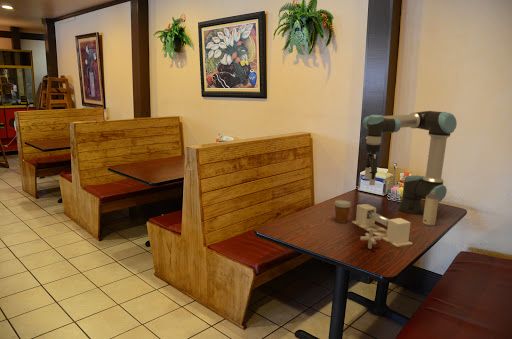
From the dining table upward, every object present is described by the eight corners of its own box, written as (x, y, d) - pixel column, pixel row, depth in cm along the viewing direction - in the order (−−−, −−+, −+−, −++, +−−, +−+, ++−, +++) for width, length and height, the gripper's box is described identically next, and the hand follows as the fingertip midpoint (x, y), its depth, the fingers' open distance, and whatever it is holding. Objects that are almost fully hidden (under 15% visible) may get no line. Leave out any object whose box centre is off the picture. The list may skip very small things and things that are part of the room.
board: (351, 222, 220) (351, 221, 220) (365, 220, 224) (365, 219, 224) (397, 247, 187) (397, 245, 187) (412, 244, 191) (412, 243, 190)
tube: (358, 214, 218) (359, 207, 217) (364, 213, 219) (365, 206, 218) (388, 228, 196) (388, 221, 195) (394, 227, 198) (395, 220, 197)
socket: (386, 239, 195) (388, 219, 193) (398, 237, 198) (400, 217, 196) (396, 245, 189) (398, 224, 186) (408, 243, 192) (410, 222, 190)
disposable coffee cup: (350, 220, 223) (352, 201, 220) (347, 225, 214) (349, 205, 212) (335, 217, 227) (336, 198, 224) (331, 222, 218) (332, 202, 216)
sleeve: (355, 222, 219) (357, 205, 216) (365, 221, 221) (366, 203, 219) (364, 227, 211) (366, 209, 209) (374, 226, 214) (376, 207, 212)
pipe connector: (356, 243, 189) (358, 225, 187) (375, 243, 190) (377, 225, 188) (363, 252, 180) (365, 232, 177) (383, 252, 180) (385, 232, 178)
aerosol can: (428, 221, 225) (432, 189, 220) (437, 225, 219) (442, 192, 214) (419, 222, 222) (424, 190, 217) (429, 226, 216) (434, 193, 211)
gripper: (362, 140, 214) (358, 176, 219) (370, 147, 190) (366, 187, 195) (375, 141, 214) (371, 177, 218) (385, 147, 189) (381, 188, 194)
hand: (369, 181), depth 206 cm, fingers open, 13 cm apart
